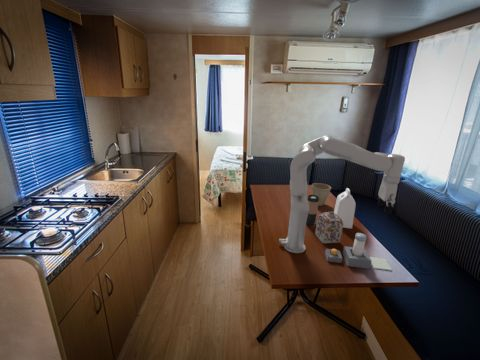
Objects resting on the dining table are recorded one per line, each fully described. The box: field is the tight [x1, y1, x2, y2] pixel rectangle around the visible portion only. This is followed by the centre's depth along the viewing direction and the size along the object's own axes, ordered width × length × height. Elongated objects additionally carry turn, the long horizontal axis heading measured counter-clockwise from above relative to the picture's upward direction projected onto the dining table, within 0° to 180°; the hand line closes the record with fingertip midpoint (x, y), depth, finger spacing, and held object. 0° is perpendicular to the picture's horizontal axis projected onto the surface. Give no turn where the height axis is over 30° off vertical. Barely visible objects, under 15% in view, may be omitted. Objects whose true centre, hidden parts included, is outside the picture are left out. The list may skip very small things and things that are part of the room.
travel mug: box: [306, 194, 319, 226], centre depth 181 cm, size 8×8×20 cm
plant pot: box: [311, 182, 332, 207], centre depth 215 cm, size 15×15×16 cm
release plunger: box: [331, 248, 338, 256], centre depth 144 cm, size 3×3×4 cm
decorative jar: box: [314, 211, 343, 245], centre depth 162 cm, size 12×12×18 cm
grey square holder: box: [342, 245, 372, 269], centre depth 143 cm, size 11×11×5 cm
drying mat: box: [369, 256, 393, 272], centre depth 142 cm, size 9×10×1 cm
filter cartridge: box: [352, 232, 368, 257], centre depth 141 cm, size 5×5×16 cm
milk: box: [333, 187, 357, 229], centre depth 182 cm, size 12×12×26 cm
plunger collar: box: [324, 248, 344, 264], centre depth 145 cm, size 8×8×3 cm
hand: (383, 209), depth 138 cm, fingers open, 9 cm apart
